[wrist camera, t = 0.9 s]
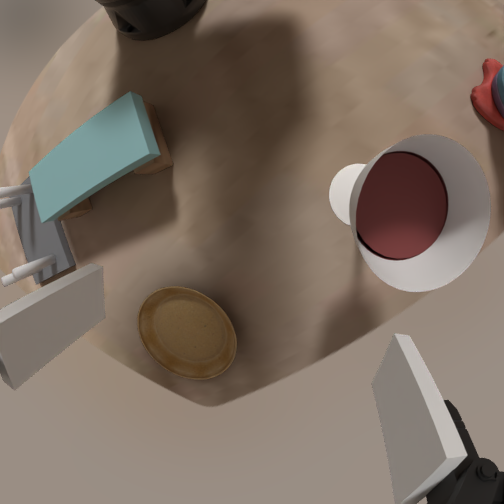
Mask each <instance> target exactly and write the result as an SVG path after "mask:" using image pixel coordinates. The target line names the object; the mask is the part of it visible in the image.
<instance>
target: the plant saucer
mask: <svg viewBox="0 0 504 504" xmlns="http://www.w3.org/2000/svg"><path fill="white" fill-rule="evenodd" d="M137 326H138V332H139V336H140V339H141V342H142V343H143V346H144V347H145V349H146V351H147V352H148V354H149V355H150V356H151V357H152V358H153V359H154V360H155V361H156V362H157V363H158V364H159V365H160V366H162V367H163V368H164V369H166V370H167V371H169V372H170V373H173V374H175V375H177V376H180V377H183V378H187V379H192V380H205V379H210V378H213V377H216V376H218V375H220V374H222V373H223V372H224V371H226V370H227V369H228V368H229V366H230V365H231V364H232V362H233V360H234V358H235V355H236V350H237V338H236V333H235V330H234V328H233V325H232V323H231V321H230V319H229V318H228V316H227V315H226V313H225V312H224V311H223V309H222V308H221V307H220V306H219V305H218V304H217V303H216V302H214V301H213V300H212V299H210V298H209V297H207V296H206V295H204V294H202V293H200V292H198V291H196V290H193V289H190V288H186V287H180V286H170V287H164V288H161V289H158V290H156V291H154V292H152V293H151V294H150V295H148V296H147V297H146V298H145V300H144V301H143V303H142V304H141V306H140V309H139V312H138V317H137Z"/></svg>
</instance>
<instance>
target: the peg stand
mask: <svg viewBox="0 0 504 504" xmlns="http://www.w3.org/2000/svg"><path fill="white" fill-rule="evenodd" d="M3 197H9V198H6V199H0V209H1V208H6V207H12V210H13V214H14V218H15V222H16V226H17V229H18V233H19V236H20V239H21V243H22V246H23V249H24V252H25V255H26V258H27V261H28V263H27V264H24V265H22V266H19V267H17V268H14V269H13V270H12V273H11V274H9V275H6V276H4V277H2V278H1V281H2V284H3V286H4V287H5V286H8V285H10V284H13V283H15V282H17V281H19V280H22V279H24V278H26V277H29V276H31V275H33V277H34V280H35V283H36V284H39V283H41V282H43V281H45V280H47V279H48V278H50V277H52V276H54V275H56V274H58V273H60V272H62V271H64V270H66V269H68V268H70V267H72V266H74V265H76V264H75V261H74V259H73V256H72V254H71V251H70V248H69V245H68V242H67V240H66V237H65V234H64V231H63V228H62V225H61V222H60V221H58V218H57V219H55V220H54V221H50V222H46V223H42V222H41V219H40V216H39V212H38V209H37V205H36V201H35V197H34V193H33V189H32V185H31V180H30V176H29V177H28V178H27V179H26V180H25V181H24V182H23V183H22V184H21V185H19V186H10V187H2V188H0V198H3Z"/></svg>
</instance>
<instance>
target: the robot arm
mask: <svg viewBox="0 0 504 504" xmlns="http://www.w3.org/2000/svg"><path fill="white" fill-rule="evenodd" d="M95 1H97V2H98V3H100V4H101V5H103V6H104V8H105V10H106V12H107V13H108V15H109V17H110V19H111V21H112V23H113V25H114V27H115V28H116V29H117V30H118V31H119V32H121V33H122V34H124V35H125V36H127V37H128V38H131V39H134V40H149V39H154V38H158V37H161V36H163V35H166V34H168V33H170V32H172V31H174V30H176V29H177V28H179V27H181V26H182V25H183V24H185V23H186V22H187V21H189V20H190V19H191V18H192V17H193V16H194V15H195V14H196V13H197V12H198V11H199V9H200V8H201V7H202V5H203V4H204V2H205V0H95ZM104 318H105V305H104V282H103V267H102V266H99V265H96V264H93V263H90V264H88V265H86V266H84V267H82V268H80V269H78V270H76V271H74V272H72V273H70V274H67V275H65V276H63V277H61V278H59V279H57V280H55V281H53V282H51V283H49V284H47V285H45V286H43V287H41V288H39V289H37V290H36V291H34V292H32V293H30V294H28V295H26V296H24V297H22V298H20V299H18V300H16V301H14V302H13V303H11V304H9V305H7V306H5V307H3V308H1V309H0V373H1V376H2V378H3V381H4V382H5V383H6V384H7V385H9V386H10V387H11V388H12V389H14V390H16V389H17V388H18V387H19V386H21V385H22V384H23V383H24V382H26V381H27V380H28V379H29V378H30V377H32V376H33V375H34V374H35V373H36V372H38V371H39V370H40V369H41V368H43V367H44V366H45V365H46V364H47V363H49V362H50V361H51V360H52V359H54V358H55V357H56V356H57V355H59V354H60V353H61V352H62V351H63V350H65V349H66V348H67V347H68V346H70V345H71V344H72V343H73V342H75V341H76V340H77V339H79V338H80V337H81V336H83V335H84V334H85V333H86V332H88V331H89V330H90V329H91V328H93V327H94V326H95V325H97V324H98V323H99V322H101V321H102V320H103V319H104ZM372 388H373V392H374V396H375V400H376V405H377V409H378V413H379V418H380V422H381V427H382V432H383V436H384V442H385V447H386V452H387V457H388V463H389V469H390V475H391V481H392V487H393V494H394V501H395V504H417V503H418V502H419V501H420V500H421V499H423V498H424V497H425V496H426V498H427V502H428V503H427V504H504V472H500V471H499V470H498V468H497V466H496V465H495V464H494V463H493V462H492V461H491V460H489V459H486V458H479V456H478V454H477V452H476V449H475V447H474V445H473V443H472V440H471V438H470V436H469V433H468V431H467V429H465V425H464V423H463V421H461V420H462V418H461V416H460V414H459V412H458V410H457V409H456V408H455V407H454V406H453V404H452V403H451V402H450V401H449V400H443V398H442V397H441V394H440V393H439V390H438V388H437V386H436V384H435V382H434V380H433V378H432V376H431V375H430V373H429V371H428V369H427V367H426V365H425V363H424V361H423V359H422V358H421V356H420V354H419V352H418V350H417V348H416V347H415V345H414V343H413V341H412V340H411V338H410V336H409V335H402V334H395V333H394V335H393V337H392V340H391V342H390V344H389V347H388V349H387V351H386V354H385V356H384V358H383V360H382V362H381V365H380V367H379V369H378V371H377V373H376V375H375V377H374V379H373V381H372Z"/></svg>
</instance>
